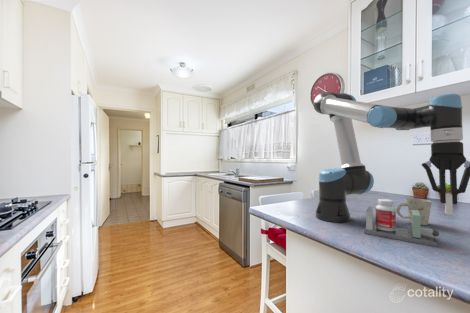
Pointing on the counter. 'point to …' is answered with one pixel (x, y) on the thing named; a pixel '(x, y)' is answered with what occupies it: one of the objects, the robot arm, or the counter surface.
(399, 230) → the vise base
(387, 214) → the pill bottle
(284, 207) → the counter surface
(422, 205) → the mug
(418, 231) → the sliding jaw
